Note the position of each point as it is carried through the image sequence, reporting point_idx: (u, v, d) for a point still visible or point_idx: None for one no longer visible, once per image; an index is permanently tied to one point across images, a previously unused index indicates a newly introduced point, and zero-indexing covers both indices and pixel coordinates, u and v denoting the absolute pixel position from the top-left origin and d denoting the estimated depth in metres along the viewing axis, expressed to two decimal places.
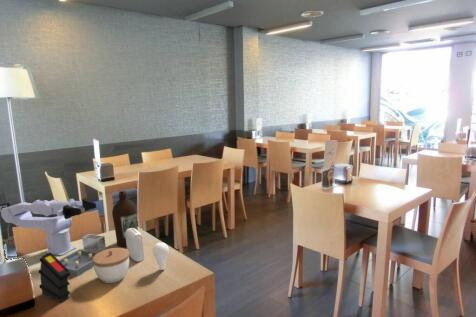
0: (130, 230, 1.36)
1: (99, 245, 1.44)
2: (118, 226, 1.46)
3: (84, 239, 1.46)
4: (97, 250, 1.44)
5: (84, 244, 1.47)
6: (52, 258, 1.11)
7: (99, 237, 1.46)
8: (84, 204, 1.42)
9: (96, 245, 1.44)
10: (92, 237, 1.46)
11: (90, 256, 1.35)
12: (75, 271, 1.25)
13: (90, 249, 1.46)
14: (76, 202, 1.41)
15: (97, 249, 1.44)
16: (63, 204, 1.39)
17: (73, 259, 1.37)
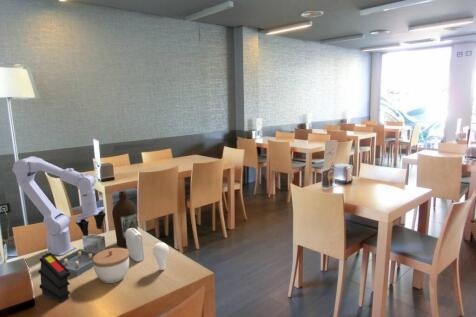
0: (130, 230, 1.36)
1: (99, 245, 1.44)
2: (118, 226, 1.46)
3: (84, 239, 1.46)
4: (97, 250, 1.44)
5: (84, 244, 1.47)
6: (52, 258, 1.11)
7: (99, 237, 1.46)
8: (98, 216, 1.48)
9: (96, 245, 1.44)
10: (92, 237, 1.46)
11: (90, 256, 1.35)
12: (75, 271, 1.25)
13: (90, 249, 1.46)
14: None
15: (97, 249, 1.44)
16: (89, 208, 1.42)
17: (73, 259, 1.37)
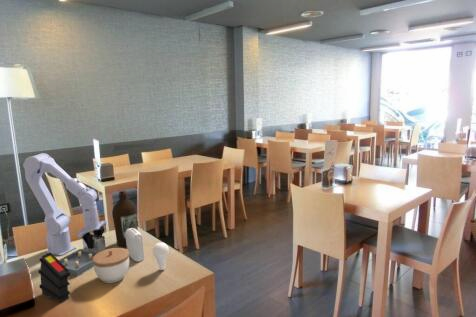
0: (130, 230, 1.36)
1: (99, 245, 1.44)
2: (118, 226, 1.46)
3: None
4: (97, 250, 1.44)
5: (84, 244, 1.47)
6: (52, 258, 1.11)
7: (99, 237, 1.46)
8: (97, 231, 1.48)
9: (95, 245, 1.44)
10: None
11: (90, 256, 1.35)
12: (75, 271, 1.25)
13: (90, 249, 1.46)
14: None
15: (97, 248, 1.44)
16: (91, 223, 1.43)
17: (73, 259, 1.37)
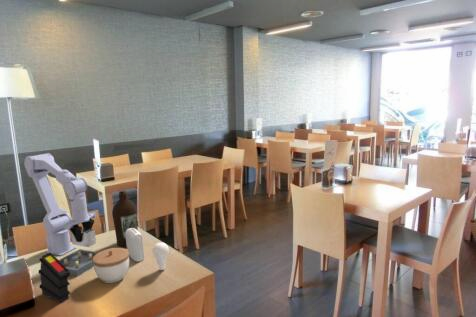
0: (130, 230, 1.36)
1: (89, 239, 1.35)
2: (118, 226, 1.46)
3: None
4: (87, 244, 1.35)
5: (73, 238, 1.37)
6: (52, 258, 1.11)
7: (89, 230, 1.36)
8: (86, 223, 1.39)
9: (85, 239, 1.35)
10: (81, 230, 1.36)
11: (90, 256, 1.35)
12: (75, 271, 1.25)
13: (79, 243, 1.36)
14: None
15: (87, 243, 1.35)
16: (80, 214, 1.33)
17: (73, 259, 1.37)
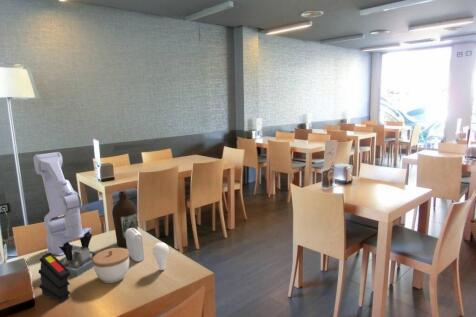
0: (130, 230, 1.36)
1: (83, 258, 1.30)
2: (118, 226, 1.46)
3: None
4: (81, 264, 1.30)
5: None
6: (52, 258, 1.11)
7: (83, 249, 1.32)
8: (84, 238, 1.35)
9: (79, 259, 1.30)
10: (76, 249, 1.32)
11: (90, 256, 1.35)
12: (75, 271, 1.25)
13: (73, 262, 1.32)
14: None
15: (81, 262, 1.30)
16: (74, 230, 1.29)
17: None
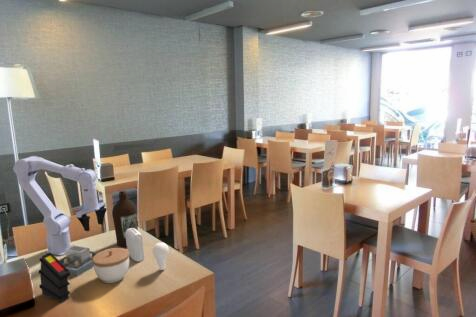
0: (130, 230, 1.36)
1: (83, 258, 1.30)
2: (118, 226, 1.46)
3: (67, 251, 1.32)
4: (81, 264, 1.30)
5: (67, 257, 1.33)
6: (52, 258, 1.11)
7: (83, 249, 1.32)
8: (99, 211, 1.47)
9: (79, 259, 1.30)
10: (76, 249, 1.32)
11: (90, 256, 1.35)
12: (75, 271, 1.25)
13: (73, 262, 1.32)
14: None
15: (81, 262, 1.30)
16: (91, 203, 1.41)
17: None
